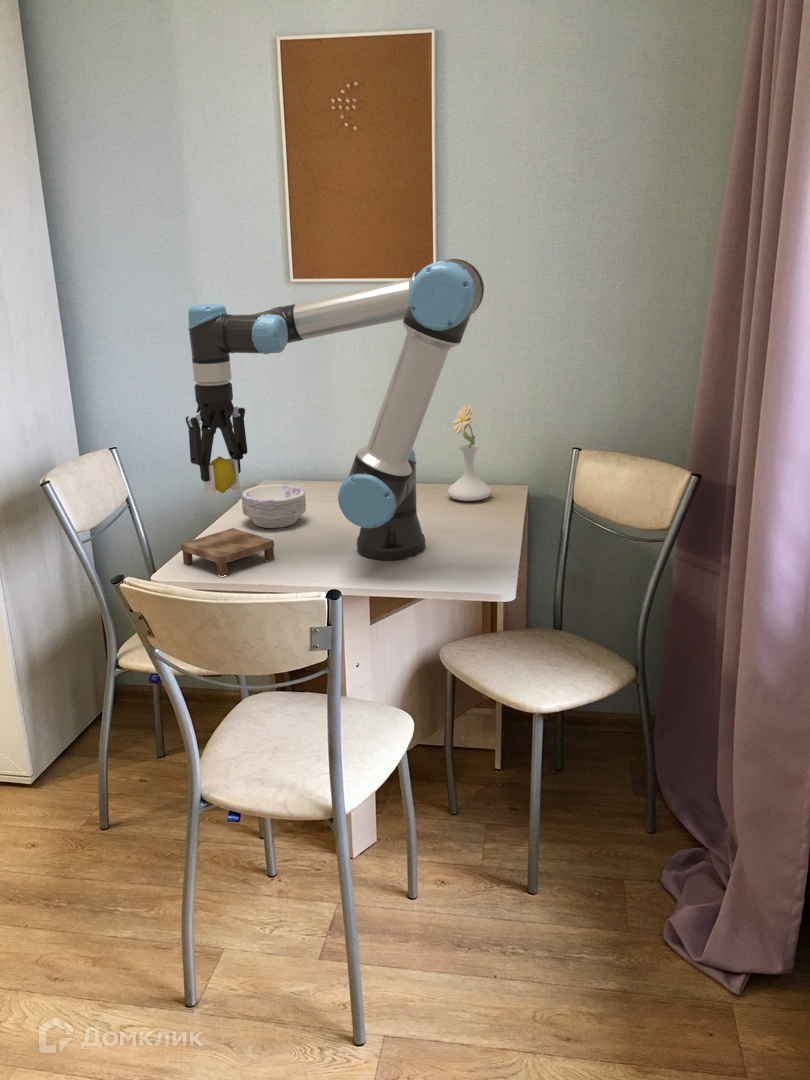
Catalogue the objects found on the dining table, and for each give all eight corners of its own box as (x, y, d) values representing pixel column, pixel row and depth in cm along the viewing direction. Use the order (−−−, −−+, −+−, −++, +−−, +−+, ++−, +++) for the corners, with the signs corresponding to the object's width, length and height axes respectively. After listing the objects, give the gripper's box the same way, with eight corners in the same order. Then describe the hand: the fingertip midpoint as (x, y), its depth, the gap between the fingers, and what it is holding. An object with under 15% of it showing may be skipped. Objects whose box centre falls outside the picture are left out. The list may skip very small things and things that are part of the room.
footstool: (273, 540, 211) (221, 557, 201) (275, 559, 212) (222, 578, 202) (233, 527, 220) (180, 543, 210) (234, 546, 221) (183, 563, 212)
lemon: (241, 492, 207) (238, 455, 205) (220, 498, 203) (216, 461, 201) (224, 488, 211) (221, 451, 208) (203, 494, 207) (200, 457, 204)
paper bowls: (318, 517, 241) (316, 486, 239) (285, 535, 228) (283, 502, 226) (265, 511, 247) (263, 480, 245) (231, 528, 234) (228, 496, 232)
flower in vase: (447, 492, 259) (446, 398, 251) (490, 491, 258) (490, 397, 250) (447, 506, 246) (446, 408, 238) (492, 506, 246) (493, 407, 238)
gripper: (237, 374, 208) (246, 480, 216) (163, 387, 195) (175, 498, 203) (260, 377, 203) (268, 485, 211) (185, 390, 191) (197, 505, 198)
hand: (222, 491), depth 207 cm, fingers closed on lemon, 5 cm apart
